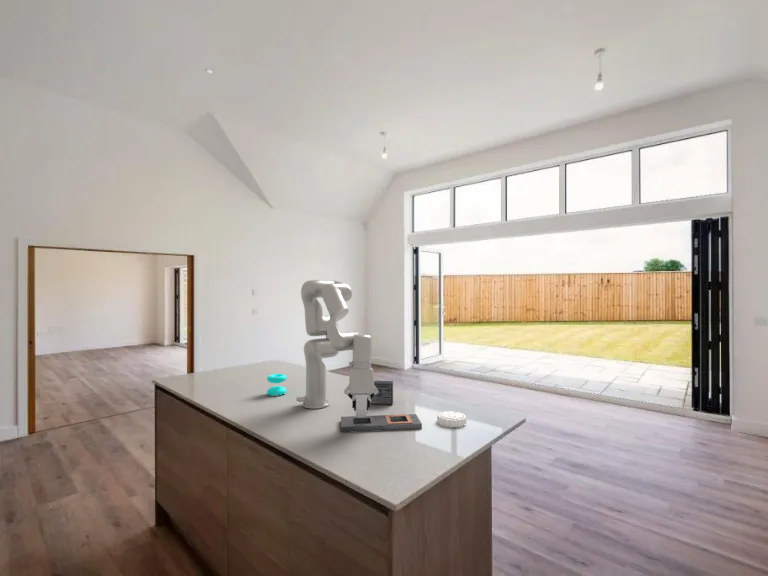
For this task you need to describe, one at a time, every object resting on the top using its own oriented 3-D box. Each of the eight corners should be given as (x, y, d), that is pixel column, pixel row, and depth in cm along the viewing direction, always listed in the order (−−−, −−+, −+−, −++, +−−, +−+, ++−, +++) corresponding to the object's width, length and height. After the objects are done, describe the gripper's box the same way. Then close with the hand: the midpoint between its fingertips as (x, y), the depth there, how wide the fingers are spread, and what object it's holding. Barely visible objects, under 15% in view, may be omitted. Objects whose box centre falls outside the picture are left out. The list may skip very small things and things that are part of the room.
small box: (393, 401, 188) (393, 380, 188) (392, 405, 181) (392, 383, 181) (372, 400, 189) (372, 379, 189) (370, 404, 182) (370, 383, 182)
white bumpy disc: (447, 430, 150) (447, 420, 150) (431, 420, 161) (431, 411, 161) (472, 425, 155) (472, 416, 155) (455, 416, 166) (455, 408, 166)
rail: (340, 432, 147) (340, 426, 147) (341, 421, 159) (341, 416, 159) (421, 428, 150) (421, 423, 150) (415, 418, 162) (415, 413, 162)
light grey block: (355, 416, 152) (356, 394, 152) (355, 413, 156) (355, 391, 156) (366, 416, 152) (367, 394, 152) (366, 412, 157) (366, 391, 157)
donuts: (290, 373, 204) (279, 378, 195) (290, 392, 204) (279, 397, 195) (274, 372, 207) (263, 376, 198) (274, 391, 207) (263, 395, 197)
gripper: (340, 367, 149) (340, 413, 150) (383, 366, 151) (382, 412, 152) (341, 363, 157) (340, 406, 157) (381, 362, 159) (380, 406, 159)
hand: (361, 409), depth 154 cm, fingers closed on light grey block, 4 cm apart
